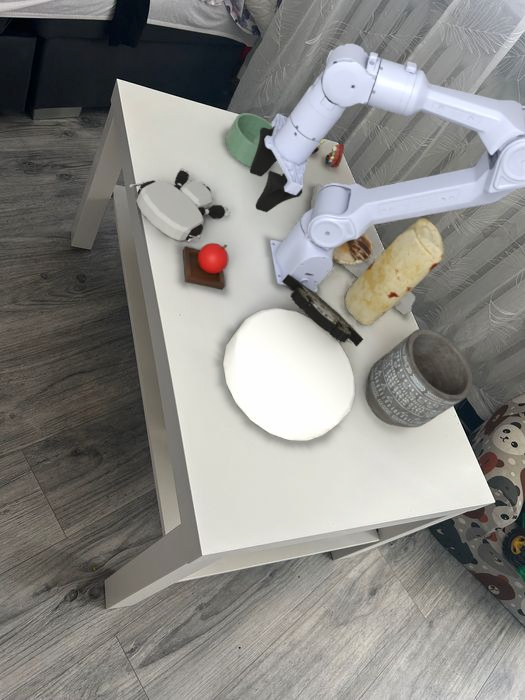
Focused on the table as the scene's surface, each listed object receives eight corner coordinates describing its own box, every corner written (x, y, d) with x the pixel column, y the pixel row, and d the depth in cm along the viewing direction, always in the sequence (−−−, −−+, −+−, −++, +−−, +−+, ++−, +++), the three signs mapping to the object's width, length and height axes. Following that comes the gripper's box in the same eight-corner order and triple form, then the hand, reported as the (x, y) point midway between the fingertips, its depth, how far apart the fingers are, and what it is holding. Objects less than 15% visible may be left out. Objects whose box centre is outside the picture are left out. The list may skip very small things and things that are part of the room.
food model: (377, 333, 104) (457, 263, 90) (345, 325, 102) (423, 251, 87) (367, 289, 110) (441, 217, 95) (337, 281, 107) (409, 204, 92)
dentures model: (307, 143, 120) (340, 164, 121) (317, 126, 121) (349, 148, 122) (299, 153, 125) (331, 174, 127) (309, 137, 126) (340, 158, 127)
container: (206, 322, 87) (219, 304, 83) (313, 321, 98) (329, 305, 95) (247, 450, 79) (264, 435, 75) (359, 432, 90) (378, 419, 87)
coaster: (222, 290, 92) (225, 286, 91) (184, 282, 89) (187, 278, 88) (218, 259, 95) (221, 255, 94) (182, 250, 92) (184, 246, 92)
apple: (217, 284, 92) (240, 261, 90) (194, 272, 89) (218, 248, 87) (211, 264, 95) (233, 241, 92) (189, 252, 92) (212, 228, 89)
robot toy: (174, 178, 102) (117, 204, 90) (185, 157, 99) (128, 182, 87) (227, 227, 101) (176, 259, 90) (239, 208, 98) (189, 239, 87)
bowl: (273, 174, 115) (285, 157, 111) (228, 159, 110) (238, 141, 107) (267, 140, 120) (278, 123, 116) (223, 125, 115) (233, 106, 112)
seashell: (359, 209, 100) (383, 256, 105) (343, 203, 105) (367, 248, 110) (322, 237, 100) (347, 282, 105) (308, 229, 105) (333, 273, 110)
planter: (429, 425, 98) (486, 390, 89) (381, 445, 91) (438, 409, 81) (392, 362, 102) (443, 322, 93) (343, 377, 94) (393, 334, 85)
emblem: (363, 334, 100) (364, 351, 86) (356, 341, 101) (357, 359, 86) (291, 272, 100) (280, 278, 86) (285, 279, 100) (273, 286, 86)
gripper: (276, 82, 85) (231, 150, 95) (291, 152, 78) (241, 218, 88) (315, 100, 89) (268, 164, 99) (333, 169, 82) (280, 231, 92)
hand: (258, 190), depth 94 cm, fingers open, 7 cm apart
